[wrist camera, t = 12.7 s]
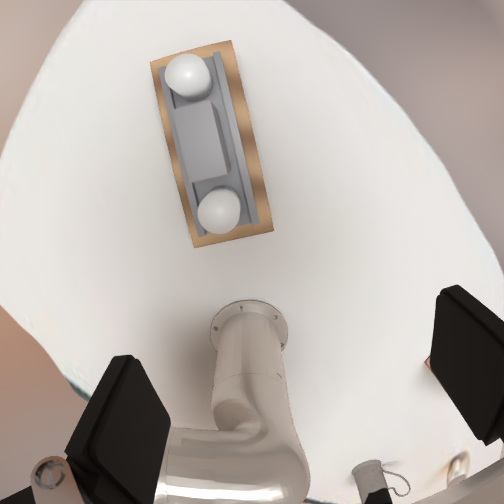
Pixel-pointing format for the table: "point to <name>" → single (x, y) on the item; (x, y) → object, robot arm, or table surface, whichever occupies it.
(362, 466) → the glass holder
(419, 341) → the table surface
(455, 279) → the table surface
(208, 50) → the curved wooden channel
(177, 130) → the grey elongated piece
